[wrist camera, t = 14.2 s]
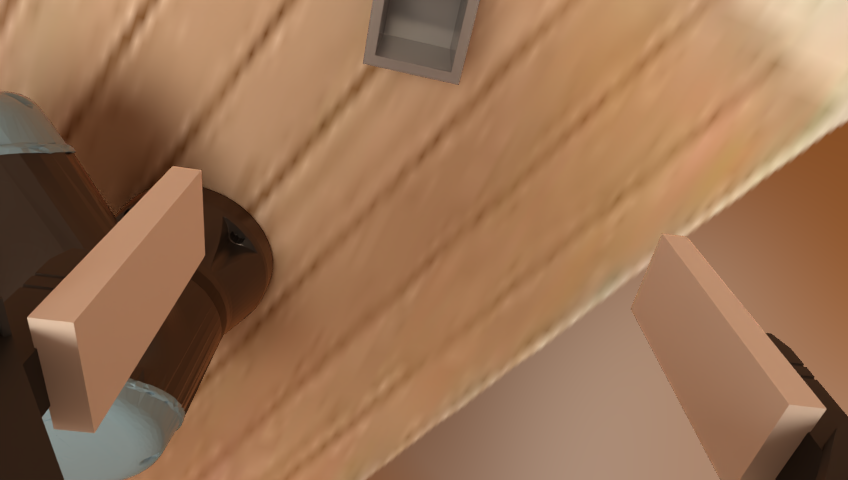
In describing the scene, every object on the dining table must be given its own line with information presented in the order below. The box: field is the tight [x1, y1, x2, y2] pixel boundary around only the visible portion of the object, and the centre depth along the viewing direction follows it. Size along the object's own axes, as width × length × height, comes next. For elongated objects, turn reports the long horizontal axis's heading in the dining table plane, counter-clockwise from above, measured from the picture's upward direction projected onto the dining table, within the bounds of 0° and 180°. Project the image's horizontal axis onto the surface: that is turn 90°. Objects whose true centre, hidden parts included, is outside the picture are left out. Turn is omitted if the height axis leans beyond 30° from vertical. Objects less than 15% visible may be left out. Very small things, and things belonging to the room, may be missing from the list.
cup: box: [363, 0, 480, 85], centre depth 40 cm, size 7×7×8 cm
